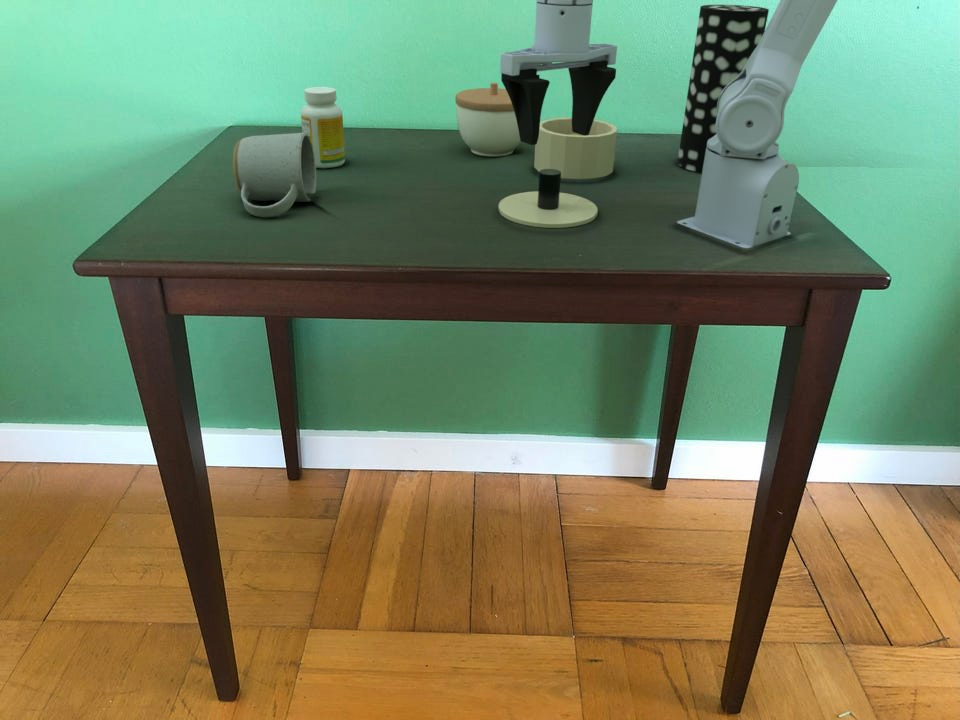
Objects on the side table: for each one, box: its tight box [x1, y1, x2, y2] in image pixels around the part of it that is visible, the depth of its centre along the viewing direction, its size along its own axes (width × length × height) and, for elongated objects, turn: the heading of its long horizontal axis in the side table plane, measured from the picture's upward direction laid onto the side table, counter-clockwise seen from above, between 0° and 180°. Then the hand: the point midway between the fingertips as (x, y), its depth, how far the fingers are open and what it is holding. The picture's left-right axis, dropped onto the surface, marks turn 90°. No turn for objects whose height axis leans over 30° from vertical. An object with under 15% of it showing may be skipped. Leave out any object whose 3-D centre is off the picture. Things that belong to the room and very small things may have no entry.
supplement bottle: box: [300, 86, 346, 169], centre depth 102 cm, size 5×5×10 cm
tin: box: [533, 117, 618, 180], centre depth 102 cm, size 10×10×6 cm
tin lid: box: [497, 169, 599, 229], centre depth 86 cm, size 11×11×5 cm
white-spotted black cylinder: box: [676, 4, 770, 174], centre depth 102 cm, size 8×8×20 cm
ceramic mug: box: [232, 132, 317, 218], centre depth 87 cm, size 11×8×8 cm
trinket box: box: [454, 82, 522, 157], centre depth 109 cm, size 11×11×9 cm
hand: (555, 138), depth 85 cm, fingers open, 7 cm apart
